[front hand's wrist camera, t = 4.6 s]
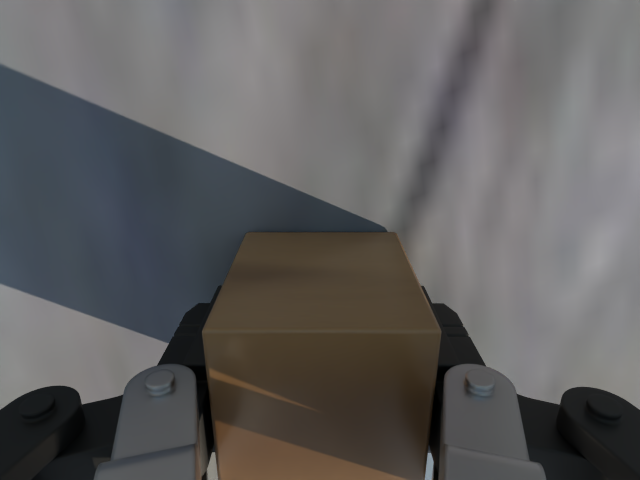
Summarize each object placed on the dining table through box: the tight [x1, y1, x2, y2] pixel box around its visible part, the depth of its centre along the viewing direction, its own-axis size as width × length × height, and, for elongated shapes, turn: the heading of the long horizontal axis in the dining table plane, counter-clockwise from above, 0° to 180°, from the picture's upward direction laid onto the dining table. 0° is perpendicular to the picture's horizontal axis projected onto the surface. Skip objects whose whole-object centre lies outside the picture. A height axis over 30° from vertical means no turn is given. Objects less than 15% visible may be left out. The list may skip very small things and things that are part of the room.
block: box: [202, 232, 441, 480], centre depth 10 cm, size 5×4×5 cm
